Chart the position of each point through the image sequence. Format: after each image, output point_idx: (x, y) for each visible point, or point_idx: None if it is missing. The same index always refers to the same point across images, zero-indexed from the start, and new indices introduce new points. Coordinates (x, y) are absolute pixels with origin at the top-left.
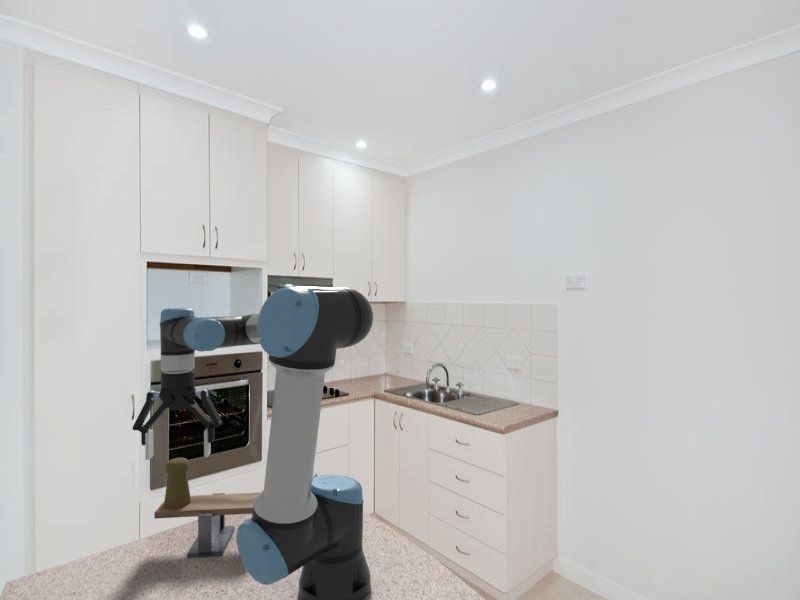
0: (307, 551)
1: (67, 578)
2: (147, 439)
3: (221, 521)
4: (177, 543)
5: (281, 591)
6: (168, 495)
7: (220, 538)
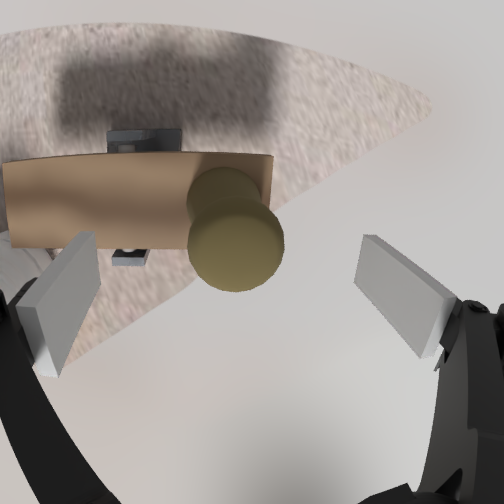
0: None
1: (379, 110)
2: (424, 278)
3: None
4: None
5: (8, 37)
6: (246, 182)
7: None
